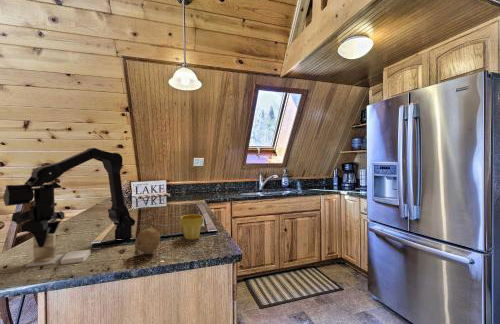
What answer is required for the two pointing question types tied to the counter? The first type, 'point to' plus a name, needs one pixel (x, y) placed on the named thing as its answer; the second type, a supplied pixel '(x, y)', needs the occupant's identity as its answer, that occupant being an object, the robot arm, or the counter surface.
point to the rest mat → (45, 262)
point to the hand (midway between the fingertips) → (45, 244)
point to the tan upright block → (45, 249)
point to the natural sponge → (147, 241)
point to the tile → (75, 256)
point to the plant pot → (191, 226)
